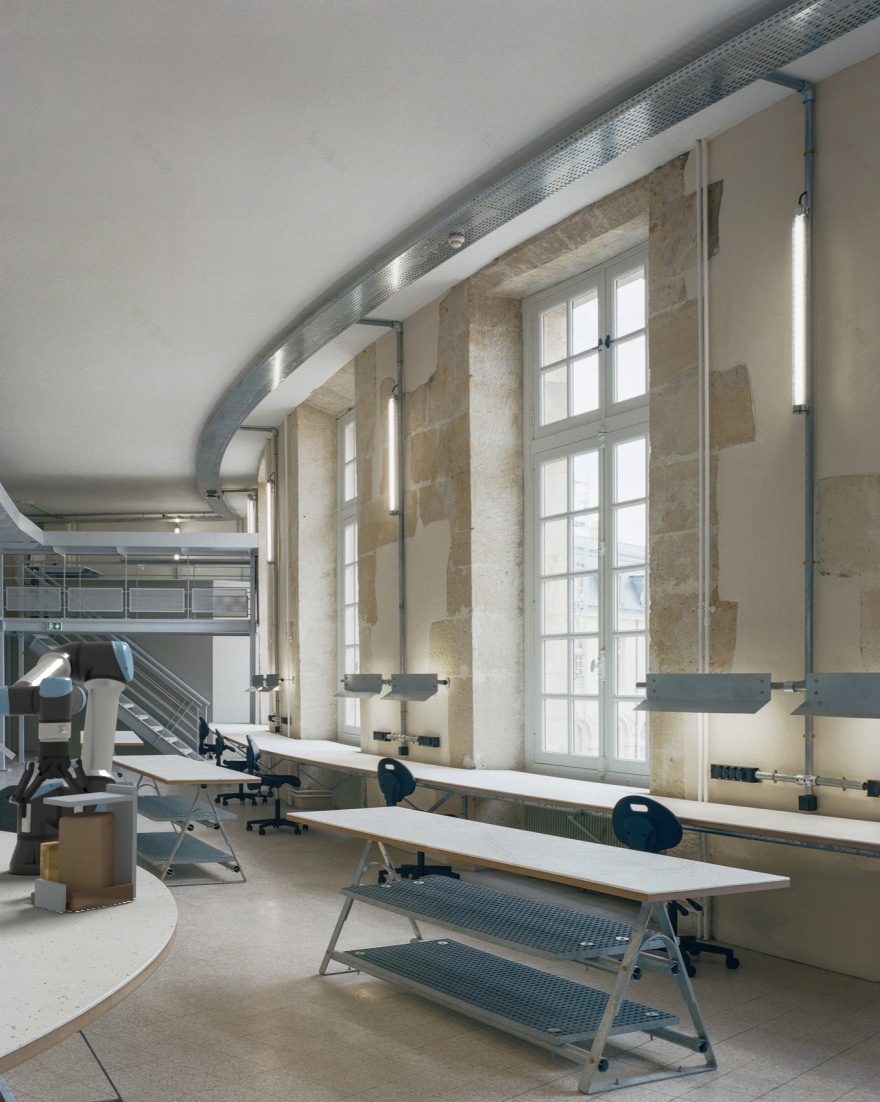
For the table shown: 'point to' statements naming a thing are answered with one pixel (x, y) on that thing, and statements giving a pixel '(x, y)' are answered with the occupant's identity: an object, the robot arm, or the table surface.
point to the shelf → (125, 840)
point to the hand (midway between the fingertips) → (52, 828)
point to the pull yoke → (86, 897)
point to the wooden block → (86, 851)
